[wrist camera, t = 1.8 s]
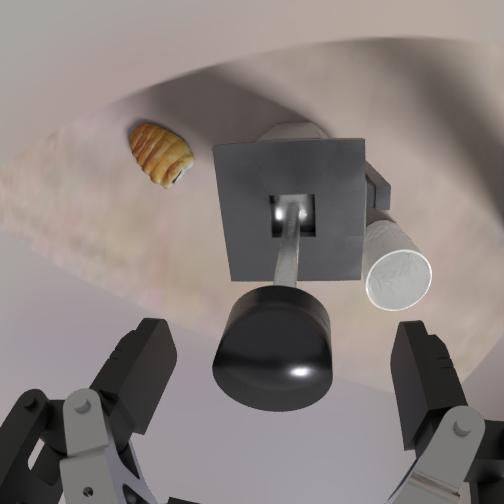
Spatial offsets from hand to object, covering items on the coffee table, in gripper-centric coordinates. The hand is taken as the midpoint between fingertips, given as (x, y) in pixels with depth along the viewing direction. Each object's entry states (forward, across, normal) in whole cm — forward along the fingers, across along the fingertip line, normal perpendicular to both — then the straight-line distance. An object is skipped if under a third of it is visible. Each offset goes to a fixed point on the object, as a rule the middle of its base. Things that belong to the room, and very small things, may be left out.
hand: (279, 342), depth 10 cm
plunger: (+14, 0, 0) cm, 14 cm away
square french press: (+31, -1, 0) cm, 31 cm away
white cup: (+31, -11, +11) cm, 34 cm away
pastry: (+31, +17, -3) cm, 36 cm away
